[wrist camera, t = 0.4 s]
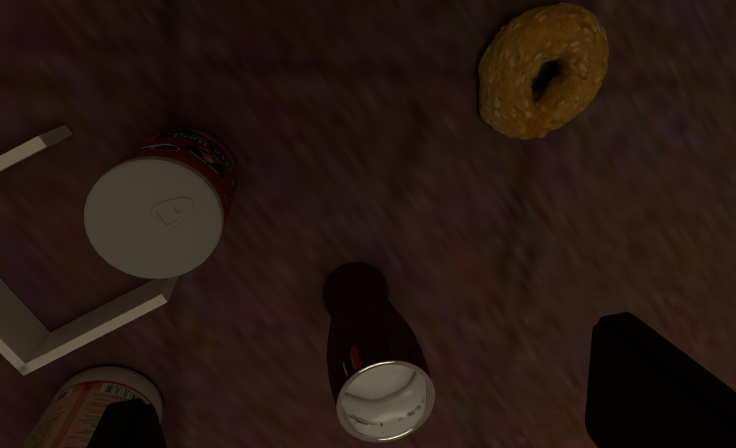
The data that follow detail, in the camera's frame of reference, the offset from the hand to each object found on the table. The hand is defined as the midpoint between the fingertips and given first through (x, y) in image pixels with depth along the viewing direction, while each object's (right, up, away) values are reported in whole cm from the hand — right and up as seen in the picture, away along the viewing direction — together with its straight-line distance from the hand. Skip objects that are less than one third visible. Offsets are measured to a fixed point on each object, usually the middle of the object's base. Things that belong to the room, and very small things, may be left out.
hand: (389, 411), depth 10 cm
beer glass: (-2, -2, +35) cm, 35 cm away
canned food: (-15, +8, +29) cm, 34 cm away
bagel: (+13, +17, +31) cm, 37 cm away
